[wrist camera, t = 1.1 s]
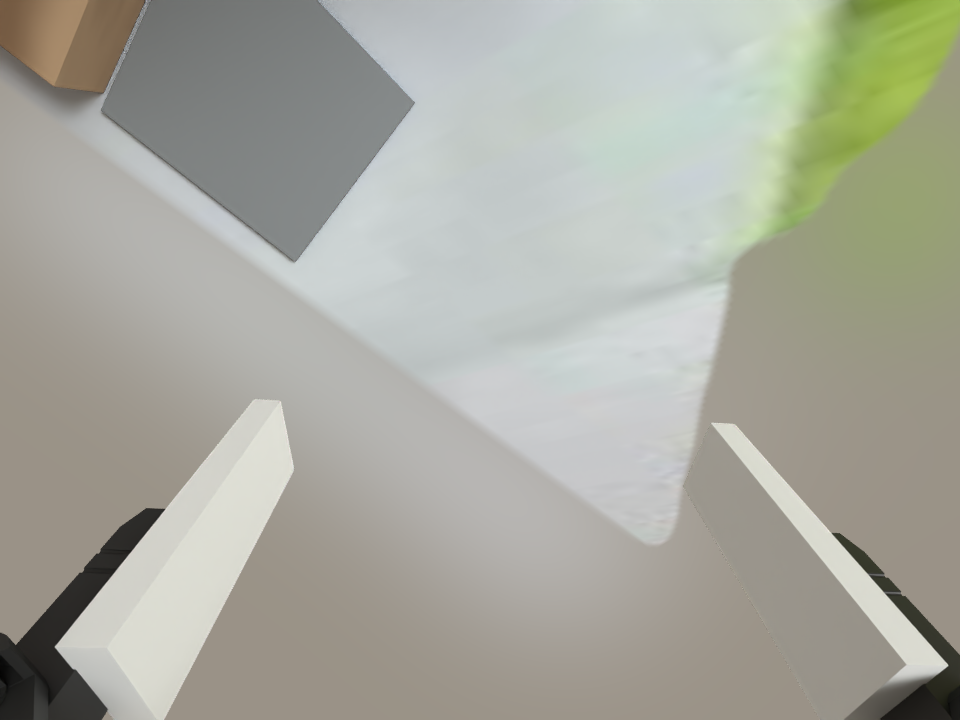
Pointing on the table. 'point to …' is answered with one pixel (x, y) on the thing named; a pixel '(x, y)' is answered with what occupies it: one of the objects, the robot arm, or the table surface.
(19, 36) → the deck
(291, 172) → the mat
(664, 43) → the table surface
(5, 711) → the robot arm
